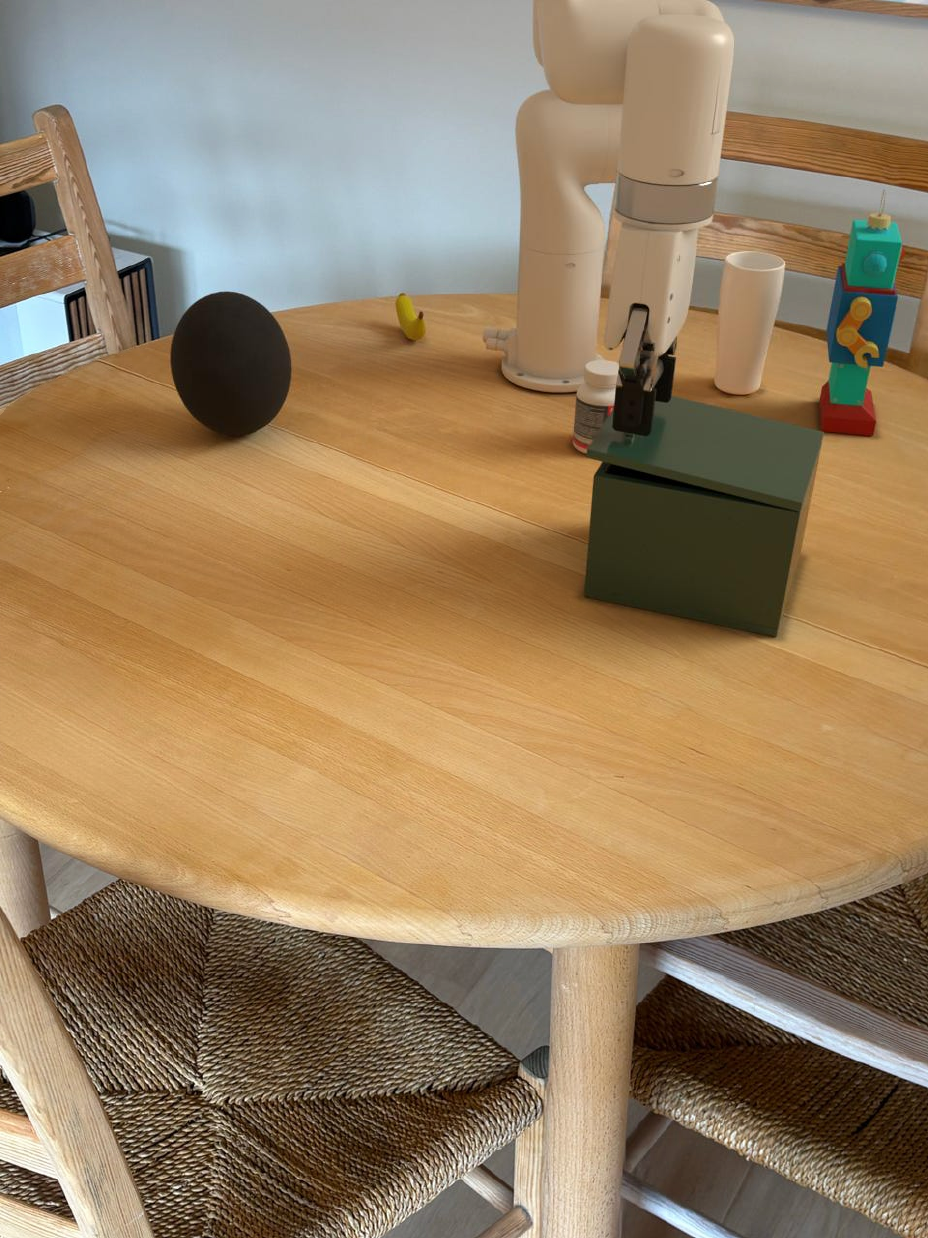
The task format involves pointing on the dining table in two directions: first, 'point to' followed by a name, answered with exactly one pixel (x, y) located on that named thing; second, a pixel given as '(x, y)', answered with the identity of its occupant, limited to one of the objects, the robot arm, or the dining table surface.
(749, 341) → the drinking glass
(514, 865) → the dining table surface
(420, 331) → the fruit
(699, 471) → the lid
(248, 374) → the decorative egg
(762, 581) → the box
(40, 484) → the dining table surface
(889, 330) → the toy robot
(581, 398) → the pill bottle
